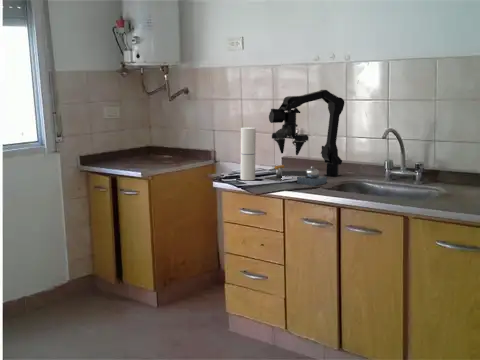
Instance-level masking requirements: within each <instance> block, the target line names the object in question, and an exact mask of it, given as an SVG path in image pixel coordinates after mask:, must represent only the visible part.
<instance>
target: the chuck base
mask: <svg viewBox="0 0 480 360" xmlns="http://www.w3.org/2000/svg"><path fill="white" fill-rule="evenodd" d="M327 179H328V176H325V175H319V177H306V176H296V183H297V184H300V185H307V186H313V187H317V186H321V185H324V184H328V183H327Z"/></svg>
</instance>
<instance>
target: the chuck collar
mask: <svg viewBox="0 0 480 360" xmlns="http://www.w3.org/2000/svg"><path fill="white" fill-rule="evenodd" d="M281 176H285V177H299V176H306V177H319V176H320V170H319V169H317V168H315V166H310V168H307V169H305V170H298V169H296V170H295V169H293V170H290V169H289V170H284V169H283V170H281Z"/></svg>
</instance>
